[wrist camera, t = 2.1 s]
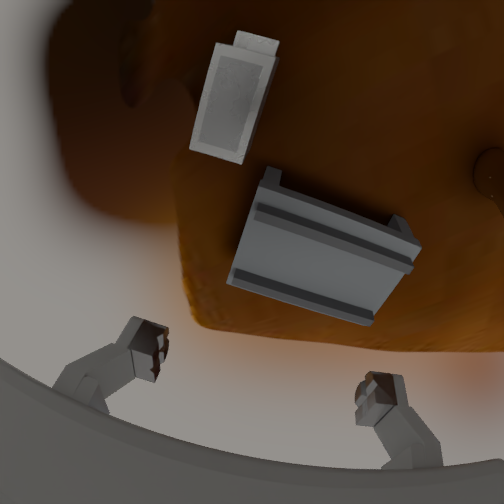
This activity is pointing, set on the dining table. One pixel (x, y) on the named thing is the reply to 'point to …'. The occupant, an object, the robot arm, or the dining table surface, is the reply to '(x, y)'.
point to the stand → (320, 254)
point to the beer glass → (491, 176)
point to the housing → (234, 96)
